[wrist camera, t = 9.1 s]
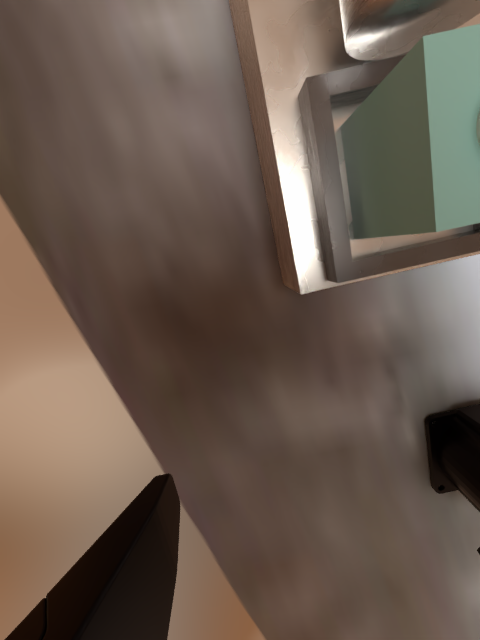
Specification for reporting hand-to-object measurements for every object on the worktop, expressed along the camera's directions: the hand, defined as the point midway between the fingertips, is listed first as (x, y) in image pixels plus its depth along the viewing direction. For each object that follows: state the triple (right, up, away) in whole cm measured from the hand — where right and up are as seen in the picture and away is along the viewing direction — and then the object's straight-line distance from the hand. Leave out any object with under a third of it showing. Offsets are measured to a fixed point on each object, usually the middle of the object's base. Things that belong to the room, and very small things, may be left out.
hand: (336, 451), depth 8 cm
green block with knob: (+5, +10, +6) cm, 13 cm away
